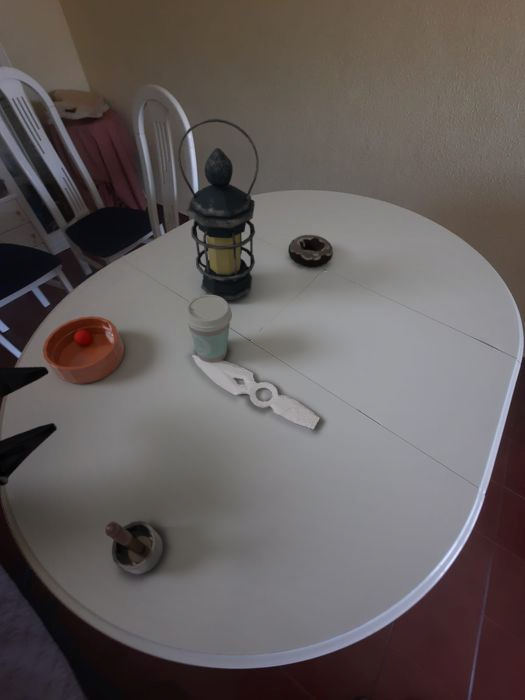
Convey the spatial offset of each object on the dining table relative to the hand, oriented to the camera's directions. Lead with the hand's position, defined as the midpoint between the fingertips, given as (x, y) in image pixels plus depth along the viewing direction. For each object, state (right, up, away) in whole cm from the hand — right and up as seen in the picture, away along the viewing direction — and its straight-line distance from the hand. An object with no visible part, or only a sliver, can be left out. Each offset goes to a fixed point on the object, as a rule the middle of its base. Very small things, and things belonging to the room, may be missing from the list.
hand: (51, 396), depth 43 cm
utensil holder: (+10, -22, +4) cm, 24 cm away
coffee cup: (+17, +5, +26) cm, 31 cm away
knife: (+24, -1, +21) cm, 32 cm away
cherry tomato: (-9, +8, +25) cm, 28 cm away
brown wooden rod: (+10, -22, +3) cm, 24 cm away
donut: (+39, +31, +48) cm, 69 cm away
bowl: (-8, +4, +25) cm, 26 cm away
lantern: (+18, +21, +39) cm, 48 cm away
